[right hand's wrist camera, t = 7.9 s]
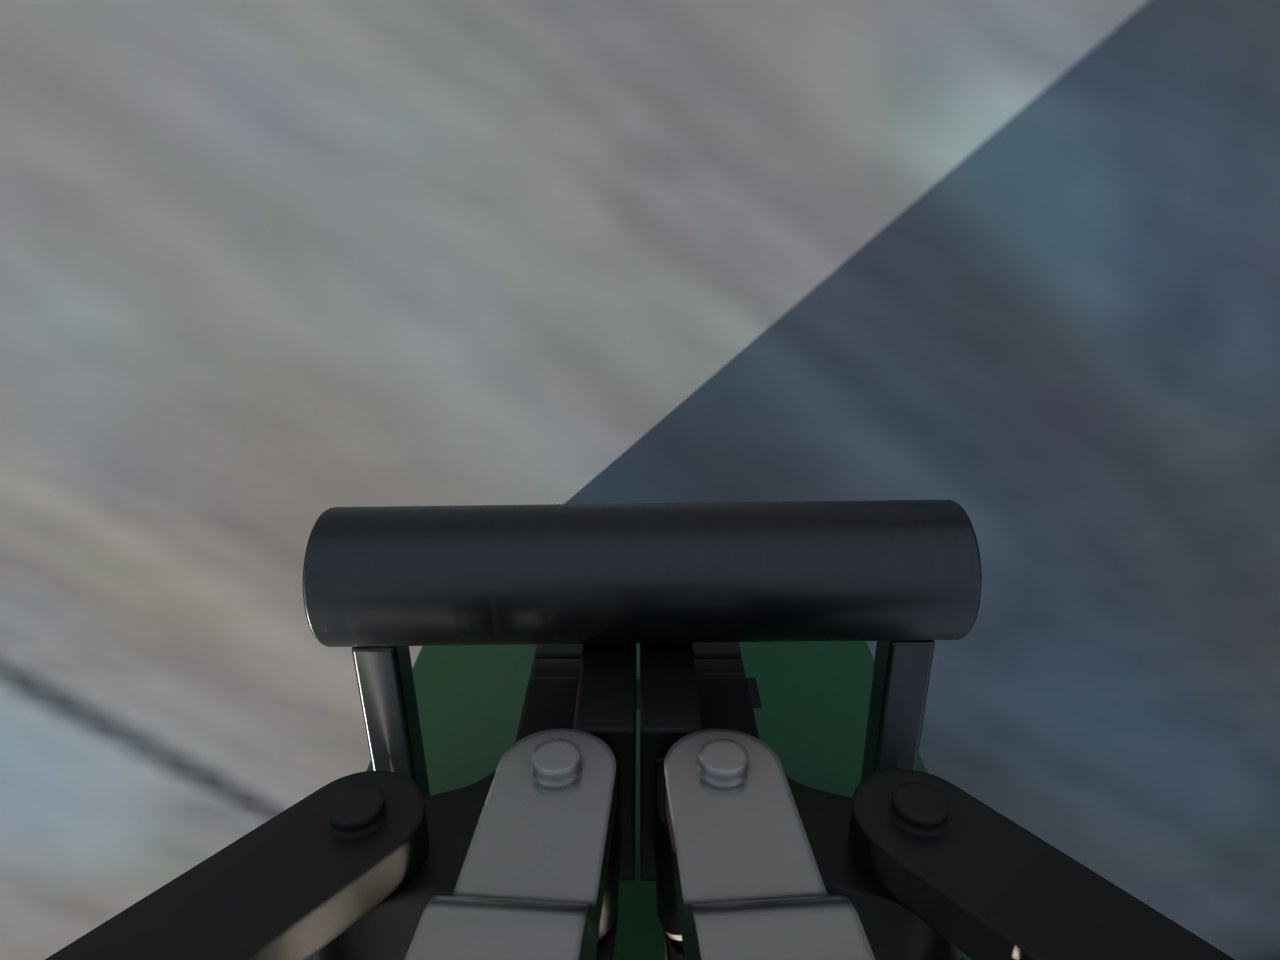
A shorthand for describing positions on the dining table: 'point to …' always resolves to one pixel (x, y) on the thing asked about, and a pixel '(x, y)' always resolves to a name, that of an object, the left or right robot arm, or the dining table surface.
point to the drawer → (644, 625)
